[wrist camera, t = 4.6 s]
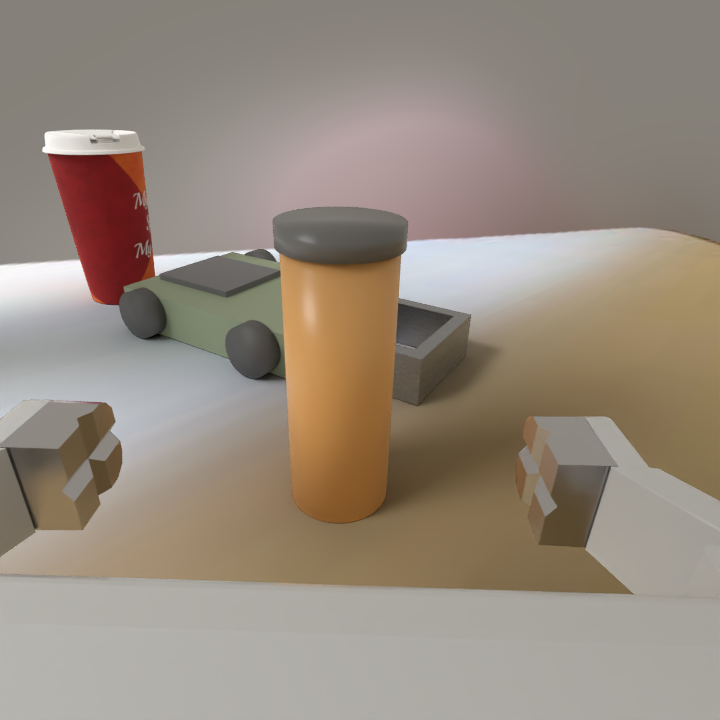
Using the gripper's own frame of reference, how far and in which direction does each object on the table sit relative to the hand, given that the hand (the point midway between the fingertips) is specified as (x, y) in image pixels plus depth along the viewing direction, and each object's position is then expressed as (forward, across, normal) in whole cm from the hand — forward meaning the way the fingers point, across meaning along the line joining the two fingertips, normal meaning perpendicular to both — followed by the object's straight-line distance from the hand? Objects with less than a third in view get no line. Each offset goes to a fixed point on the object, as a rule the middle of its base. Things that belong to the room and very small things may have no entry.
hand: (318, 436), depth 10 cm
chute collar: (+27, +3, -12) cm, 30 cm away
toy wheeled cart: (+34, -9, -12) cm, 37 cm away
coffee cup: (+40, -24, -12) cm, 48 cm away
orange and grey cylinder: (+13, 0, -12) cm, 18 cm away
